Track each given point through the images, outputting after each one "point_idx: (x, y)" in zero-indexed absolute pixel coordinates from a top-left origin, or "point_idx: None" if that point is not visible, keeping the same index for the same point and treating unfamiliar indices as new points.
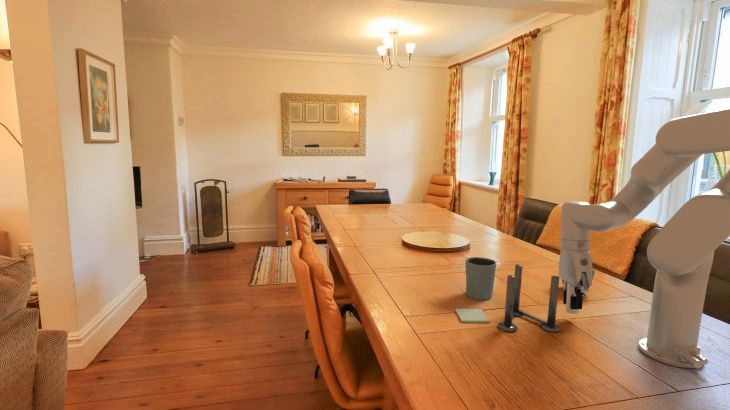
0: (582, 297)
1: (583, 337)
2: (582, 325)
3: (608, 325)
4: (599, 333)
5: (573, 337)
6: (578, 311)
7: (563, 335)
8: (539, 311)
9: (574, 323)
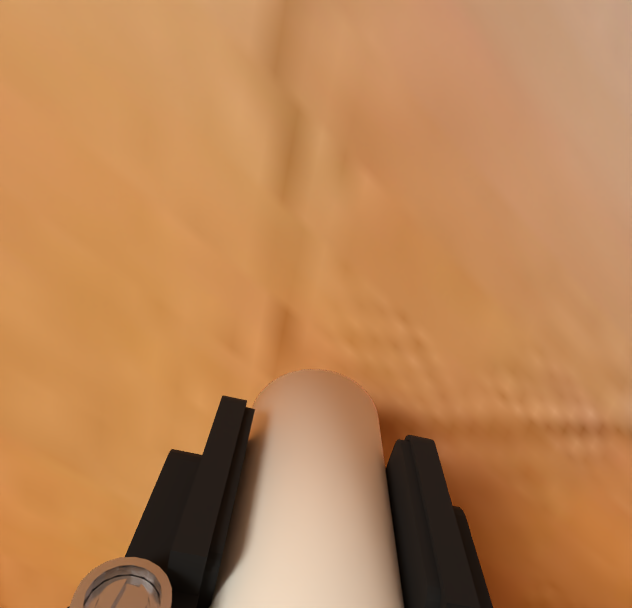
0: (468, 579)
1: (606, 495)
2: (441, 359)
3: (533, 85)
4: (617, 330)
5: (574, 554)
6: (367, 401)
7: (524, 592)
8: (101, 518)
9: (386, 398)
